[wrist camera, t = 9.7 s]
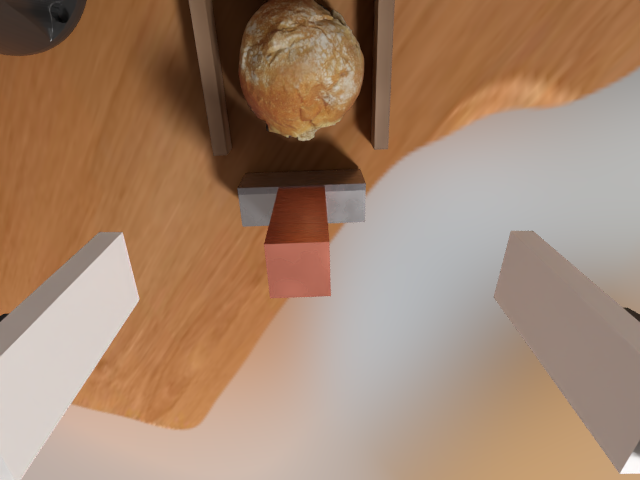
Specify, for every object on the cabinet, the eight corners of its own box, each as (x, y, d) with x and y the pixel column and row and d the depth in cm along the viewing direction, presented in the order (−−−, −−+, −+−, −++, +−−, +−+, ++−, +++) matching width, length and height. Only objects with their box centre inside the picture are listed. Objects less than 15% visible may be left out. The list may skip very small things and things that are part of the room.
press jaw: (250, 212, 39) (217, 300, 26) (245, 173, 37) (206, 245, 24) (359, 208, 39) (383, 294, 26) (360, 168, 37) (386, 238, 24)
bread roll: (365, 57, 35) (400, 13, 27) (325, 161, 35) (348, 147, 27) (263, 5, 33) (269, -58, 25) (220, 116, 33) (213, 87, 25)
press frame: (219, 149, 36) (196, 174, 29) (192, -26, 30) (155, -48, 23) (383, 142, 36) (400, 166, 29) (390, -33, 30) (414, -58, 23)
